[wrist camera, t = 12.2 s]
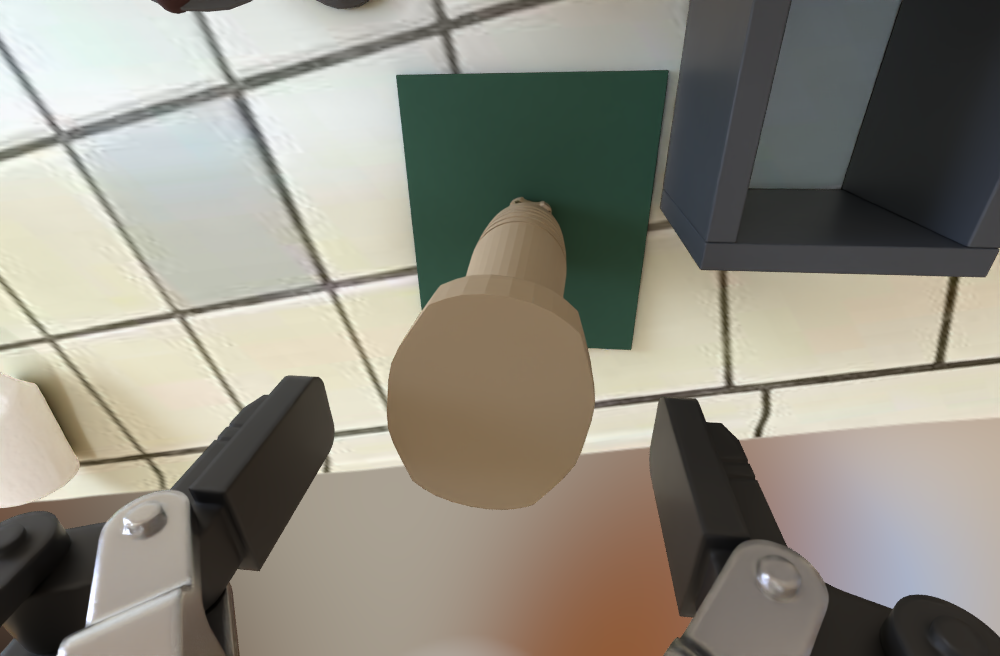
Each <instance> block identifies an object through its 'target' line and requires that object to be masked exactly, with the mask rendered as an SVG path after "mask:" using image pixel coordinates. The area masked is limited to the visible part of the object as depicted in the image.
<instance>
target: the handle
mask: <svg viewBox="0 0 1000 656" xmlns="http://www.w3.org/2000/svg"><path fill="white" fill-rule="evenodd" d="M551 212H552V210H551V207H550V205H548V204H547V203H546V202H545V201H541V202H531V201H528V200H526V199H524V198H523V197H519V198H516V199H514V200H512V202H511V203H510V206H509V207H507V208H505V209H503V210H502V211H501V212H499V213H498V214H497V215H496V216H495V217H494V218H493V219H492V221H491V222H490V223H489V224H488V226H487V227H486V229H485V230H484V232H483V234H482V235H481V237H480V239H479V241H478V243H477V245H476V247H475V249H474V252H473V254H472V257H471V261H470V264H469V267H468V271H467V274H466V277H462V278H458V279H455V280H452V281H450V282H447V283H445V284H442V285H440V287H439V288H438V289H437V290H436V292H435V293H434V294H433V296H432V297H431V299H430V300H429V301H428V303H427V304H426V306H425V307H424V308H423V310H422V311H421V313H420V314H419V316H418V317H417V319H416V320H415V322H414V324H413V325H412V327H411V328H410V330H409V331H408V333H407V334H406V336H405V338H404V339H403V341H402V343H401V345H400V346H399V348H398V350H397V353H396V355H395V357H394V359H393V361H392V363H391V368H390V374H389V379H388V399H387V421H388V429H389V432H390V435H391V438H392V441H393V444H394V446H395V448H396V450H397V452H398V454H399V456H400V458H401V460H402V462H403V464H404V466H405V467H406V469H407V471H408V473H409V475H410V477H411V479H412V481H414V482H415V483H416V484H418V485H419V486H421V487H422V488H423V489H425V490H427V491H429V492H430V493H432V494H434V495H436V496H438V497H441V498H443V499H446V500H449V501H451V502H455V503H459V504H462V505H466V506H470V507H477V508H483V509H496V510H497V509H498V510H508V509H516V508H522V507H527V506H531V505H533V504H535V503H536V502H537V501H538V500H539V499H541V498H542V497H543V496H544V495H545V494H546V493H547V492H549V491H550V490H551V489H552V488H553V487H554V486H555V485H557V484H558V483H559V482H560V481H561V480H562V479H563V478H564V477H565V476H566V475H567V474H568V473H569V472H570V470H571V469H572V468H573V467H574V466H575V464H576V462H577V459H578V457H579V455H580V453H581V451H582V448H583V445H584V442H585V439H586V436H587V433H588V430H589V427H590V424H591V421H592V416H593V411H594V405H595V393H594V381H593V375H592V368H591V361H590V356H589V352H588V347H587V343H586V339H585V335H584V331H583V328H582V324H581V320H580V317H579V313H578V311H577V310H576V309H575V308H574V307H573V306H572V305H571V304H570V303H569V302H567V301H566V300H565V299H564V298H563V295H564V288H565V280H566V250H565V244H564V239H563V235H562V232H561V229H560V226H559V224H558V223H557V221H556V219H555V218H554V217H553V215H552V214H551Z"/></svg>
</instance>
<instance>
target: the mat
mask: <svg viewBox="0 0 1000 656" xmlns="http://www.w3.org/2000/svg"><path fill="white" fill-rule="evenodd" d="M668 73H669V71H668V70H652V71H596V72H540V73H483V74H427V75H396V78H397V87H398V97H399V106H400V115H401V124H402V133H403V142H404V152H405V161H406V170H407V179H408V188H409V198H410V207H411V216H412V225H413V234H414V243H415V253H416V262H417V271H418V280H419V289H420V299H421V308H422V310H423V308H424V307H425V306H426V304H427V303H428V301H429V300H430V299H431V297H432V296H433V294H434V293H435V292H436V290H437V289H438V288H439V287H440V285H442V284H445V283H447V282H450V281H452V280H455V279H458V278H462V277H466V274H467V271H468V267H469V264H470V261H471V257H472V254H473V252H474V249H475V247H476V245H477V243H478V241H479V239H480V237H481V235H482V234H483V232H484V230H485V229H486V227H487V226H488V224H489V223H490V222H491V221H492V219H493V218H494V217H495V216H496V215H497V214H498V213H499V212H501V211H502V210H503V209H505V208H507V207H509V206H510V203H511V202H512V200H514V199H516V198H519V197H523V198H524V199H526V200H528V201H531V202H541V201H545V202H546V203H547V204H548V205H550V207H551V210H552V212H551V214H552V215H553V217H554V218H555V219H556V221H557V223H558V224H559V226H560V229H561V232H562V235H563V239H564V244H565V250H566V280H565V288H564V295H563V298H564V299H565V300H566V301H567V302H569V303H570V304H571V305H572V306H573V307H574V308H575V309H576V310H577V311H578V313H579V317H580V320H581V324H582V328H583V331H584V335H585V339H586V343H587V347H588V348H600V349H623V350H631V347H632V340H633V332H634V325H635V317H636V310H637V303H638V295H639V288H640V280H641V273H642V266H643V258H644V251H645V243H646V236H647V229H648V221H649V214H650V206H651V199H652V191H653V184H654V177H655V169H656V162H657V154H658V147H659V140H660V132H661V125H662V117H663V110H664V103H665V95H666V88H667V80H668Z"/></svg>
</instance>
